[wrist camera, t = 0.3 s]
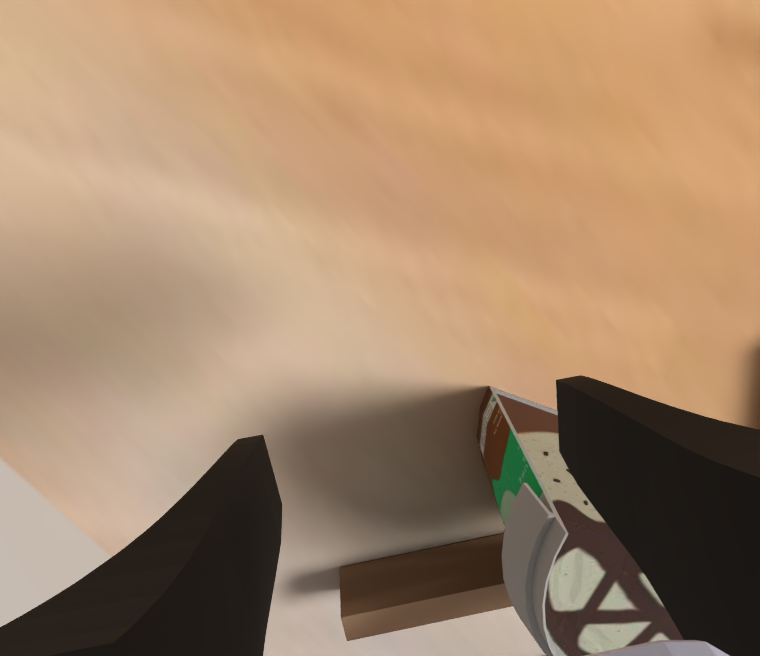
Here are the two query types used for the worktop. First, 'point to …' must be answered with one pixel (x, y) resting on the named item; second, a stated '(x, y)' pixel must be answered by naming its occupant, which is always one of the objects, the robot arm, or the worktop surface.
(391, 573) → the rail
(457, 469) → the worktop surface
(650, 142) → the worktop surface
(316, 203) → the worktop surface
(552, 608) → the food container
